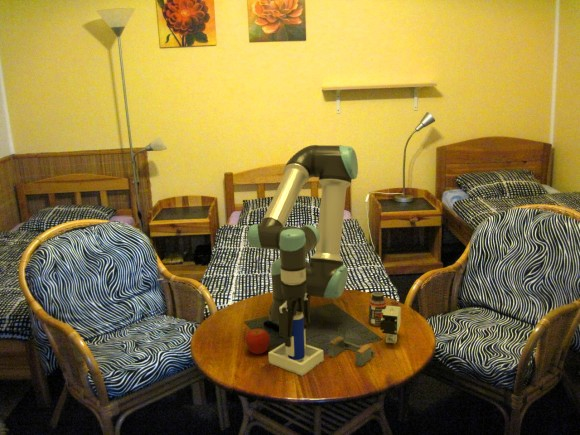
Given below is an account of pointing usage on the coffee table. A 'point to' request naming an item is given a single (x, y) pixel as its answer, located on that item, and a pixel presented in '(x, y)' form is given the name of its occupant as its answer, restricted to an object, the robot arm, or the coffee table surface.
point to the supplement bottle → (376, 308)
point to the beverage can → (298, 337)
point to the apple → (257, 340)
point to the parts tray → (298, 367)
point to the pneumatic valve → (391, 322)
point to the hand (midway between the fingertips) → (295, 350)
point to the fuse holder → (362, 352)
